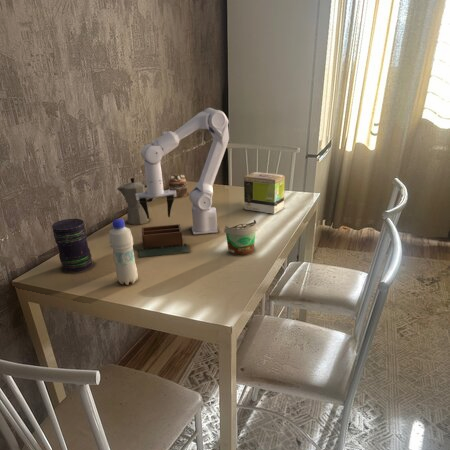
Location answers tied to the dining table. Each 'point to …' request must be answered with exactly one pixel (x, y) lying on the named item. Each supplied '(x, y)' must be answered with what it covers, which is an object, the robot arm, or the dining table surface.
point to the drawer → (162, 236)
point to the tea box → (264, 192)
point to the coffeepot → (134, 202)
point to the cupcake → (178, 185)
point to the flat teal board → (163, 250)
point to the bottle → (123, 252)
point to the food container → (241, 238)
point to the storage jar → (72, 245)
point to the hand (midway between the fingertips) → (158, 217)
